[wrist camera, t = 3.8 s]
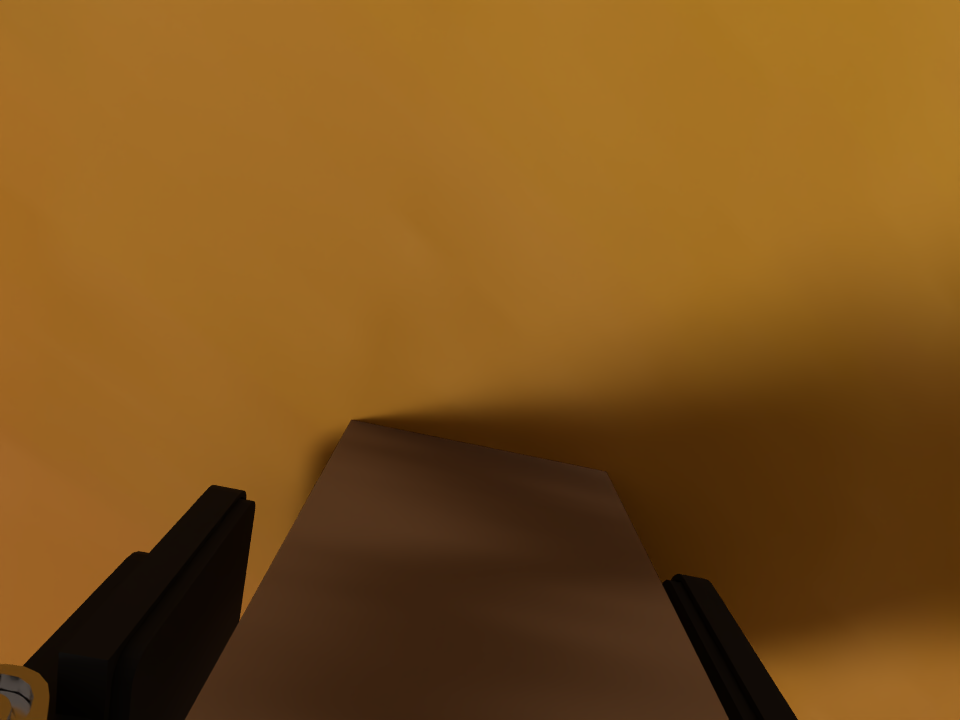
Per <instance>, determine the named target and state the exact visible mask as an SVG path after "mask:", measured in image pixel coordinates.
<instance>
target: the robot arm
mask: <svg viewBox="0 0 960 720" xmlns="http://www.w3.org/2000/svg"><path fill="white" fill-rule="evenodd" d="M254 513H255V502H254V501H250V500H246V492H245V491H243V490H238V489H232V488H227V487H222V486H217V485H212V486H210V487H209V488H208V489H207V490H206V491H205V492H204V493H203V495H202V496H201V497H200V498H199V499H198V500H197V501H196V502H195V503H194V504H193V506H192V507H191V508H190V509H189V510H188V511H187V512H186V513H185V514H184V515H183V516H182V518H181V519H180V520H179V521H178V522H177V523H176V524H175V525H174V526H173V527H172V529H171V530H170V531H169V532H168V533H167V534H166V535H165V536H164V537H163V538H162V539H161V541H160V542H159V543H158V544H157V545H156V546H155V547H154V548H153V549H152V550H151V551H150V553H146V552H141V551H138V552H134V553H132V554H131V555H130V556H129V557H127V558H126V559H125V560H124V561H123V562H122V563H121V564H120V566H119V567H118V568H117V569H116V570H115V571H114V572H113V573H112V574H111V575H110V576H109V577H108V578H107V579H106V580H105V581H104V582H103V583H102V584H101V585H100V586H99V587H98V588H97V589H96V590H95V591H94V593H93V594H92V595H91V596H90V597H89V598H88V599H87V600H86V601H85V602H84V603H83V604H82V605H81V606H80V607H79V608H78V609H77V610H76V611H75V612H74V613H73V614H72V615H71V616H70V617H69V618H68V619H67V621H66V622H65V623H64V624H63V625H62V626H61V627H60V628H59V629H58V630H57V631H56V632H55V633H54V634H53V635H52V636H51V637H50V638H49V639H48V640H47V641H46V642H45V643H44V644H43V645H42V646H41V647H40V649H39V650H38V651H37V652H36V653H35V654H34V655H33V656H32V657H31V658H30V659H29V660H28V661H27V662H26V663H25V664H24V665H23V666H17V665H10V664H0V720H185V719H186V717H187V715H188V713H189V711H190V710H191V708H192V706H193V704H194V702H195V701H196V699H197V697H198V695H199V693H200V691H201V690H202V688H203V686H204V684H205V682H206V681H207V679H208V677H209V675H210V673H211V672H212V670H213V668H214V666H215V664H216V663H217V661H218V659H219V657H220V655H221V654H222V652H223V650H224V648H225V646H226V645H227V643H228V641H229V639H230V637H231V636H232V634H233V632H234V630H235V628H236V627H237V625H238V623H239V619H240V612H241V605H242V598H243V591H244V584H245V577H246V570H247V563H248V556H249V549H250V542H251V535H252V527H253V520H254ZM662 585H663V587H664V589H665V591H666V593H667V595H668V597H669V599H670V601H671V603H672V605H673V607H674V609H675V611H676V613H677V616H678V618H679V620H680V622H681V624H682V626H683V628H684V630H685V632H686V634H687V636H688V638H689V640H690V642H691V644H692V646H693V648H694V650H695V652H696V654H697V656H698V658H699V660H700V662H701V664H702V666H703V668H704V670H705V672H706V674H707V676H708V678H709V680H710V682H711V684H712V686H713V688H714V690H715V692H716V694H717V696H718V698H719V700H720V702H721V704H722V706H723V708H724V710H725V712H726V714H727V716H728V718H729V720H798V719H797V718H796V716H795V714H794V713H793V711H792V710H791V708H790V707H789V705H788V703H787V702H786V700H785V699H784V697H783V696H782V694H781V692H780V691H779V689H778V688H777V686H776V684H775V683H774V681H773V680H772V678H771V677H770V675H769V673H768V672H767V670H766V669H765V667H764V665H763V664H762V662H761V661H760V659H759V658H758V656H757V654H756V653H755V651H754V650H753V648H752V647H751V645H750V643H749V642H748V640H747V639H746V637H745V635H744V634H743V632H742V631H741V629H740V628H739V626H738V624H737V623H736V621H735V620H734V618H733V616H732V615H731V613H730V612H729V610H728V609H727V607H726V605H725V604H724V602H723V601H722V599H721V598H720V596H719V594H718V593H717V591H716V590H715V588H714V586H713V585H712V583H711V582H710V581H709V580H707V579H702V578H697V577H692V576H687V575H682V574H677V575H675V576H674V577H673V578H672V580H671V581H670V580H665V581H664V582H663V583H662Z"/></svg>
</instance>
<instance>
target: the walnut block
mask: <svg viewBox="0 0 960 720" xmlns="http://www.w3.org/2000/svg"><path fill="white" fill-rule="evenodd" d="M185 720H729V718H728V716H727V714H726V712H725V710H724V708H723V706H722V704H721V702H720V700H719V698H718V696H717V694H716V692H715V690H714V688H713V686H712V684H711V682H710V680H709V678H708V676H707V674H706V672H705V670H704V668H703V666H702V664H701V662H700V660H699V658H698V656H697V654H696V652H695V650H694V648H693V646H692V644H691V642H690V640H689V638H688V636H687V634H686V632H685V630H684V628H683V626H682V624H681V622H680V620H679V618H678V616H677V613H676V611H675V609H674V607H673V605H672V603H671V601H670V599H669V597H668V595H667V593H666V591H665V589H664V587H663V585H662V583H661V581H660V579H659V577H658V575H657V573H656V571H655V569H654V567H653V565H652V563H651V561H650V559H649V557H648V555H647V553H646V551H645V549H644V547H643V545H642V543H641V541H640V539H639V537H638V535H637V533H636V531H635V529H634V527H633V525H632V523H631V521H630V519H629V517H628V515H627V513H626V511H625V508H624V506H623V504H622V502H621V500H620V498H619V496H618V494H617V492H616V490H615V488H614V486H613V484H612V482H611V480H610V478H609V476H608V474H607V472H606V471H601V470H596V469H591V468H586V467H581V466H576V465H571V464H566V463H561V462H556V461H552V460H547V459H542V458H537V457H532V456H527V455H522V454H517V453H512V452H507V451H502V450H498V449H493V448H488V447H483V446H478V445H473V444H468V443H463V442H458V441H453V440H448V439H443V438H439V437H434V436H429V435H424V434H419V433H414V432H409V431H404V430H399V429H394V428H389V427H385V426H380V425H375V424H370V423H365V422H360V421H355V420H351V421H350V423H349V425H348V427H347V429H346V430H345V432H344V434H343V436H342V438H341V439H340V441H339V443H338V445H337V447H336V448H335V450H334V452H333V454H332V456H331V457H330V459H329V461H328V463H327V465H326V466H325V468H324V470H323V472H322V474H321V475H320V477H319V479H318V481H317V483H316V484H315V486H314V488H313V490H312V492H311V493H310V495H309V497H308V499H307V501H306V502H305V504H304V506H303V508H302V510H301V511H300V513H299V515H298V517H297V519H296V520H295V522H294V524H293V526H292V528H291V529H290V531H289V533H288V535H287V537H286V538H285V540H284V542H283V544H282V546H281V547H280V549H279V551H278V553H277V555H276V556H275V558H274V560H273V562H272V564H271V565H270V567H269V569H268V571H267V573H266V574H265V576H264V578H263V580H262V582H261V583H260V585H259V587H258V589H257V591H256V592H255V594H254V596H253V598H252V600H251V601H250V603H249V605H248V607H247V609H246V610H245V612H244V614H243V616H242V618H241V619H240V621H239V623H238V625H237V627H236V628H235V630H234V632H233V634H232V636H231V637H230V639H229V641H228V643H227V645H226V646H225V648H224V650H223V652H222V654H221V655H220V657H219V659H218V661H217V663H216V664H215V666H214V668H213V670H212V672H211V673H210V675H209V677H208V679H207V681H206V682H205V684H204V686H203V688H202V690H201V691H200V693H199V695H198V697H197V699H196V701H195V702H194V704H193V706H192V708H191V710H190V711H189V713H188V715H187V717H186V719H185Z"/></svg>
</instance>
